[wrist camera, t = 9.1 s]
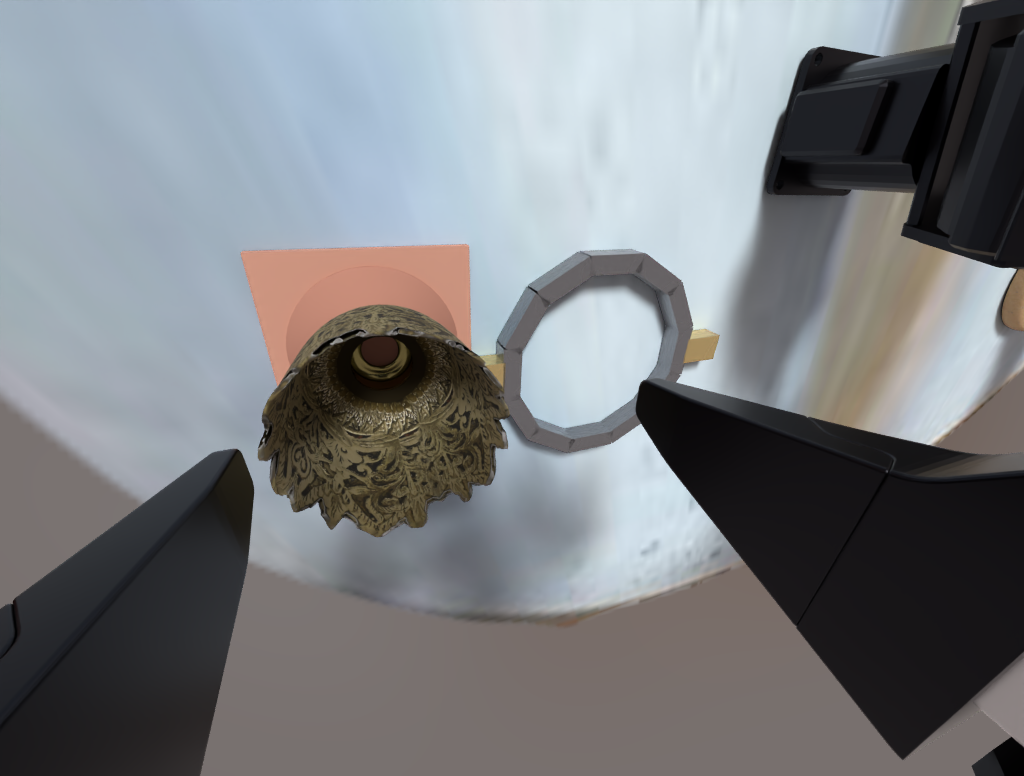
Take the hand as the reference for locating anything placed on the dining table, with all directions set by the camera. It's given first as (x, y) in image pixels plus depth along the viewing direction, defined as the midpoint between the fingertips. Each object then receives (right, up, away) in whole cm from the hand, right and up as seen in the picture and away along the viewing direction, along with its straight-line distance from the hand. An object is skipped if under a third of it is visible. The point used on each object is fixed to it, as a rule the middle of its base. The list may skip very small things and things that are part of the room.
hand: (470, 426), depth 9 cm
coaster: (-6, +3, +10) cm, 12 cm away
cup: (-5, +3, +10) cm, 12 cm away
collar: (+6, +3, +15) cm, 16 cm away
